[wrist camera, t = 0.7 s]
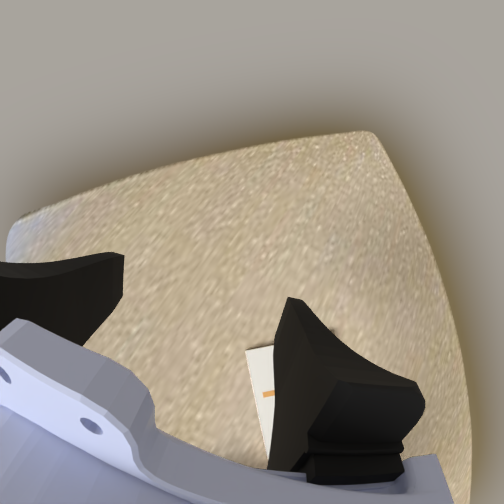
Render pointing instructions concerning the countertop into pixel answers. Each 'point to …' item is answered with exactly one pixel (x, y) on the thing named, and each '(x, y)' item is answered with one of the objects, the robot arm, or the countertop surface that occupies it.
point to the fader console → (263, 388)
